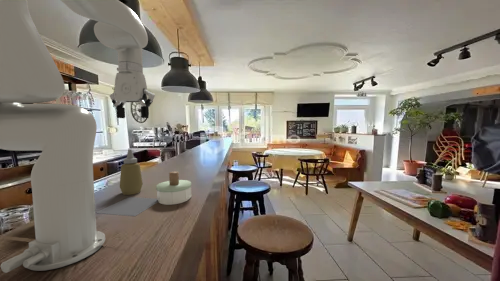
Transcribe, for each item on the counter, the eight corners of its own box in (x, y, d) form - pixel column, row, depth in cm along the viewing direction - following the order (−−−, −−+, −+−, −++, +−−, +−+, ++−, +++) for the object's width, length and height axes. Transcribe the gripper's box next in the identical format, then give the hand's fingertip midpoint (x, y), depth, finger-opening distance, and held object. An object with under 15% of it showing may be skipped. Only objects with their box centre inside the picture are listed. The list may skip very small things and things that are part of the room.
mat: (135, 218, 58) (135, 216, 58) (94, 214, 60) (94, 213, 60) (163, 200, 72) (163, 198, 72) (129, 198, 74) (128, 196, 74)
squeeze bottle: (135, 197, 75) (133, 150, 74) (114, 197, 75) (112, 150, 74) (147, 190, 83) (145, 148, 82) (128, 190, 83) (126, 148, 82)
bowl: (181, 207, 66) (180, 192, 66) (151, 205, 68) (150, 191, 67) (195, 195, 77) (194, 183, 76) (169, 194, 78) (168, 182, 78)
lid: (181, 193, 65) (181, 177, 65) (148, 191, 67) (148, 175, 66) (196, 183, 77) (196, 169, 76) (168, 181, 79) (167, 168, 78)
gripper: (100, 68, 68) (103, 117, 69) (145, 65, 65) (147, 117, 66) (118, 74, 75) (120, 118, 76) (159, 72, 73) (160, 118, 74)
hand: (132, 118), depth 71 cm, fingers open, 9 cm apart
